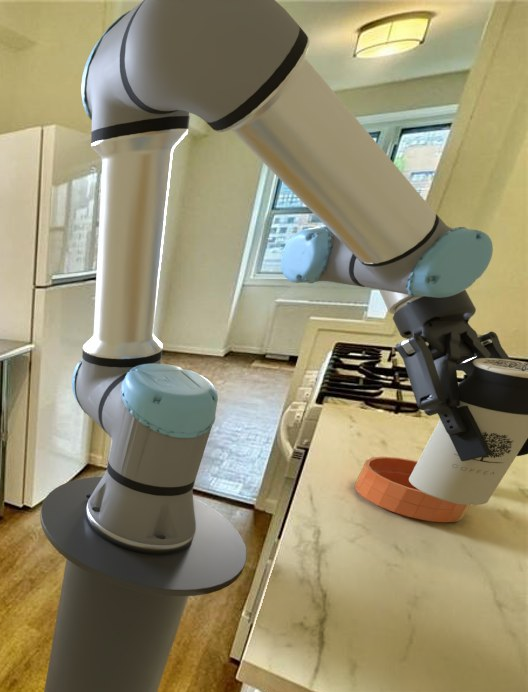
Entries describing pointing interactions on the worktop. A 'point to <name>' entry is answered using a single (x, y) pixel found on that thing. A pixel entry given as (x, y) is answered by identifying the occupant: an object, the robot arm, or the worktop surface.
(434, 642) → the worktop surface
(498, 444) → the travel mug
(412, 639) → the worktop surface
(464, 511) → the bowl
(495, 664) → the worktop surface
